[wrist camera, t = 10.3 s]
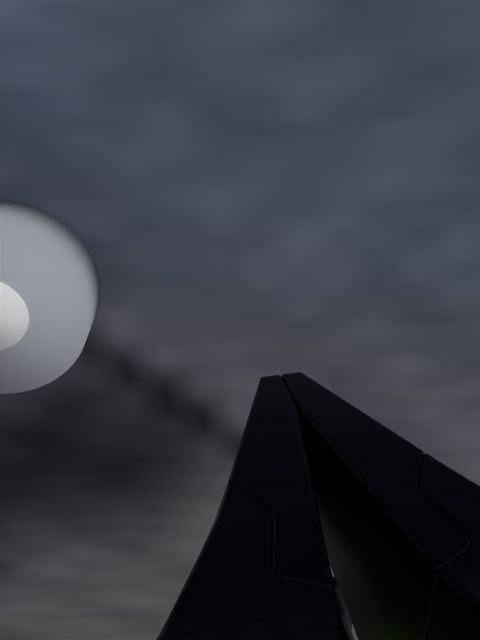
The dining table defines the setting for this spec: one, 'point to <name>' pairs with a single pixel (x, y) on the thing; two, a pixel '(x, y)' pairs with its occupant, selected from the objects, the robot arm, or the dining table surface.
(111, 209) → the dining table surface
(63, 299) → the wheel
